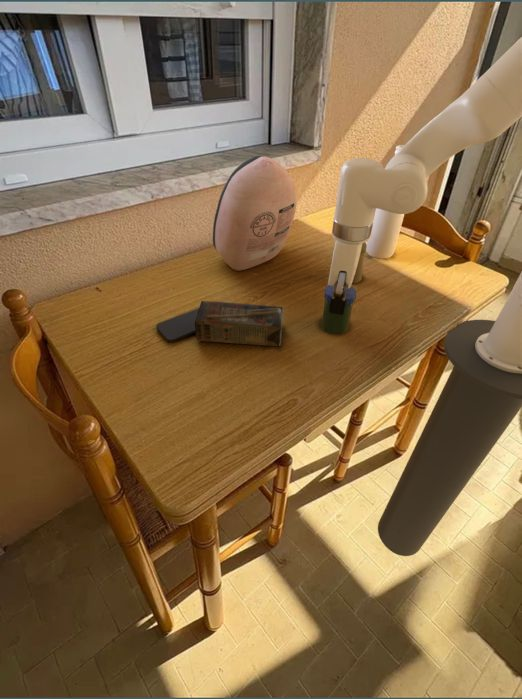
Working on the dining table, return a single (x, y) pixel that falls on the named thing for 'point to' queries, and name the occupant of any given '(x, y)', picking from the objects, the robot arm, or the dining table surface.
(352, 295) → the jar lid
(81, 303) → the dining table surface
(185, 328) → the phone
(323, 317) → the jam jar
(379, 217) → the alcohol
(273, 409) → the dining table surface
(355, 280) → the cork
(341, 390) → the dining table surface
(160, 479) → the dining table surface
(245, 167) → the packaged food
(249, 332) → the beverage carton
